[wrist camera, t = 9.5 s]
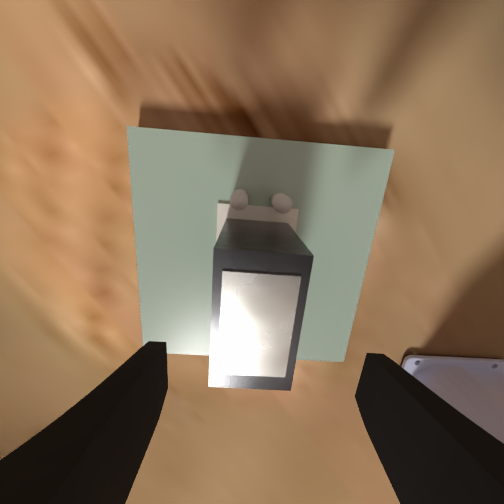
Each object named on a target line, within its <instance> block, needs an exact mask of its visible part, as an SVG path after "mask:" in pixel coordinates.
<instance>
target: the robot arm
mask: <svg viewBox="0 0 504 504" xmlns="http://www.w3.org/2000/svg"><path fill="white" fill-rule="evenodd" d="M167 389H168V374H167V344H166V342H158V341H148V342H147V343H146V344H145V345H144V346H142V347H141V348H140V349H139V350H138V351H137V352H136V353H135V354H134V355H132V356H131V357H130V358H129V359H128V360H127V361H126V362H125V363H124V364H122V365H121V366H120V367H119V368H118V369H117V370H116V371H115V372H113V373H112V374H111V375H110V376H109V377H108V378H106V379H105V380H104V381H103V382H102V383H101V384H99V385H98V386H97V387H96V388H95V389H94V390H92V391H91V392H90V393H89V394H88V395H86V396H85V397H84V398H83V399H81V400H80V401H79V402H78V403H76V404H75V405H74V406H73V407H71V408H70V409H69V410H68V411H66V412H65V413H64V414H63V415H61V416H60V417H59V418H58V419H56V420H55V421H54V422H52V423H51V424H50V425H48V426H47V427H46V428H45V429H43V430H42V431H41V432H39V433H38V434H36V435H35V436H34V437H32V438H31V439H30V440H28V441H27V442H25V443H24V444H23V445H21V446H20V447H18V448H17V449H16V450H14V451H13V452H11V453H10V454H9V455H7V456H6V457H4V458H3V459H1V460H0V504H125V503H126V500H127V498H128V495H129V493H130V490H131V488H132V485H133V483H134V480H135V478H136V475H137V473H138V470H139V468H140V465H141V463H142V460H143V458H144V455H145V453H146V450H147V448H148V445H149V443H150V440H151V438H152V435H153V433H154V430H155V428H156V425H157V423H158V420H159V417H160V413H161V410H162V407H163V403H164V400H165V396H166V393H167ZM355 398H356V401H357V404H358V407H359V411H360V414H361V417H362V419H363V422H364V425H365V428H366V430H367V432H368V435H369V437H370V439H371V441H372V443H373V446H374V448H375V450H376V452H377V454H378V457H379V459H380V461H381V463H382V465H383V467H384V469H385V472H386V474H387V476H388V478H389V480H390V482H391V484H392V487H393V489H394V491H395V493H396V495H397V497H398V500H399V502H400V504H504V360H503V359H483V358H463V357H444V356H424V355H408V356H406V357H405V358H404V361H403V364H402V367H401V366H399V365H398V364H397V363H395V362H394V361H393V360H391V359H390V358H389V357H387V356H386V355H384V354H376V353H367V355H366V358H365V362H364V365H363V369H362V373H361V376H360V380H359V383H358V387H357V391H356V394H355Z"/></svg>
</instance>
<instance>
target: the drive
mask: <svg viewBox="0 0 504 504" xmlns="http://www.w3.org/2000/svg"><path fill="white" fill-rule="evenodd" d="M313 258H314V255H313V254H312V253H311V251H310V250H309V249H308V248H307V246H306V245H305V244H304V243H303V241H302V240H301V239H300V238H299V236H298V235H297V234H296V233H295V231H294V230H293V229H292V228H291V226H290V225H289V224H288V223H282V222H269V221H256V220H244V219H231V218H226V220H225V223H224V225H223V227H222V230H221V232H220V234H219V237H218V239H217V241H216V244H215V246H214V248H213V275H212V303H211V331H210V359H209V387H225V388H246V389H267V390H288V391H291V386H292V380H293V374H294V368H295V363H296V357H297V351H298V345H299V339H300V334H301V328H302V322H303V316H304V311H305V305H306V299H307V293H308V287H309V282H310V276H311V270H312V264H313Z"/></svg>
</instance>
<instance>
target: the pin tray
mask: <svg viewBox="0 0 504 504" xmlns="http://www.w3.org/2000/svg"><path fill="white" fill-rule="evenodd" d="M127 137H128V150H129V164H130V177H131V191H132V204H133V217H134V231H135V244H136V258H137V271H138V285H139V298H140V312H141V325H142V338H143V346H144V345H145V344H146V343H147V342H148V341H158V342H166V344H167V353H171V354H191V355H210V331H211V303H212V275H213V248H214V246H215V244H216V241H217V239H218V237H219V234H220V232H221V230H222V227H223V225H224V223H225V220H226V218H231V219H244V220H256V221H269V222H282V223H288V224H289V225H290V226H291V228H292V229H293V230H294V231H295V233H296V234H297V235H298V236H299V238H300V239H301V240H302V241H303V243H304V244H305V245H306V246H307V248H308V249H309V250H310V251H311V253H312V254H313V255H314V258H313V264H312V270H311V276H310V282H309V287H308V293H307V299H306V305H305V311H304V316H303V322H302V328H301V334H300V339H299V345H298V351H297V357H296V360H314V361H335V362H344V358H345V354H346V350H347V346H348V342H349V337H350V333H351V329H352V325H353V321H354V317H355V313H356V309H357V304H358V300H359V296H360V292H361V288H362V284H363V280H364V275H365V271H366V267H367V263H368V259H369V255H370V251H371V247H372V242H373V238H374V234H375V230H376V226H377V222H378V218H379V214H380V209H381V205H382V201H383V197H384V193H385V189H386V185H387V180H388V176H389V172H390V168H391V164H392V160H393V156H394V152H395V150H392V149H380V148H369V147H358V146H347V145H335V144H324V143H313V142H301V141H290V140H279V139H268V138H256V137H245V136H234V135H222V134H211V133H200V132H189V131H177V130H166V129H155V128H143V127H132V126H127Z"/></svg>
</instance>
